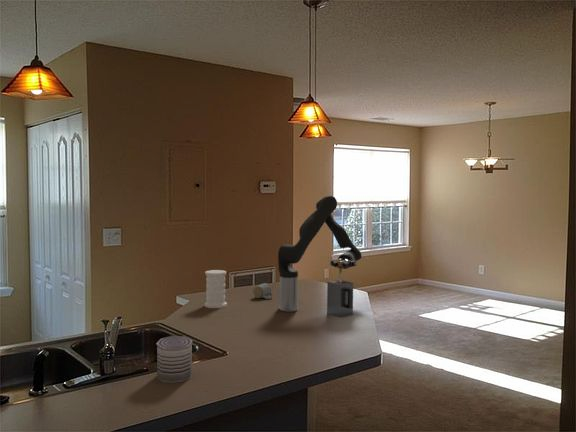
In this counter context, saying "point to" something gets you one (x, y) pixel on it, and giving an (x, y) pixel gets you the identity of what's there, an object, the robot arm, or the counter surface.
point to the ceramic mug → (262, 291)
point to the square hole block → (340, 298)
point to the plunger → (340, 269)
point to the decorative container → (215, 289)
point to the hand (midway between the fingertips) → (339, 265)
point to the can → (174, 359)
